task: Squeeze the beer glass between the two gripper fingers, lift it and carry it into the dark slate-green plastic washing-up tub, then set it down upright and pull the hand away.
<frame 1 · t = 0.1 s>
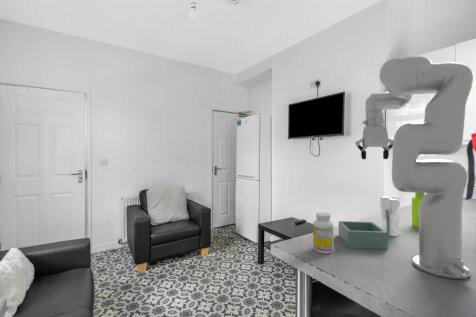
hand: (374, 159, 112), 31 cm above the table, tool pointing down, fingers open, 9 cm apart
washing-up tub: (361, 241, 89), on the table
supplement bottle: (323, 250, 82), on the table
beer glass: (389, 234, 98), on the table
soap dispenser: (420, 227, 107), on the table
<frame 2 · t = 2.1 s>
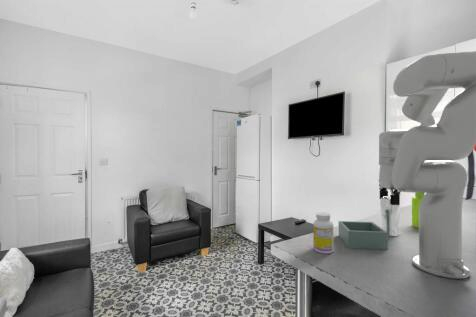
hand: (389, 202, 98), 13 cm above the table, tool pointing down, fingers open, 9 cm apart
nothing on the table moved.
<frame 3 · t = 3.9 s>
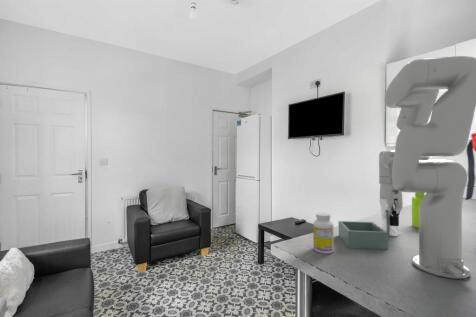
hand: (389, 222, 98), 5 cm above the table, tool pointing down, fingers closed on beer glass, 6 cm apart
beer glass: (389, 234, 98), on the table, touching gripper
everything else where it was.
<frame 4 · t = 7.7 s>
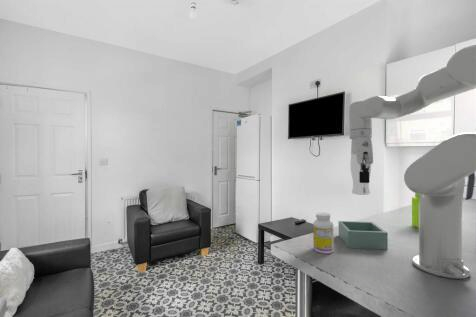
hand: (360, 181, 89), 23 cm above the table, tool pointing down, fingers closed on beer glass, 6 cm apart
beer glass: (360, 194, 89), point 18 cm above the table, touching gripper
everything else where it was.
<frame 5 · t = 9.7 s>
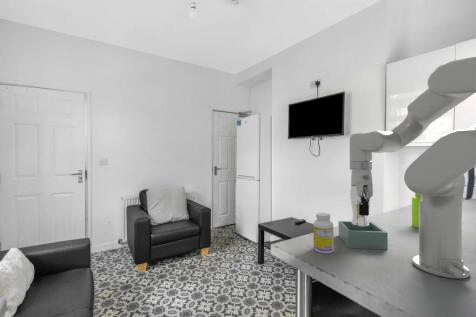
hand: (360, 212, 89), 11 cm above the table, tool pointing down, fingers closed on beer glass, 6 cm apart
beer glass: (360, 225, 90), point 6 cm above the table, touching gripper
everything else where it was.
when the fingers open (8 cm above the table, at t = 11.5 s): beer glass drops 2 cm, resting on washing-up tub.
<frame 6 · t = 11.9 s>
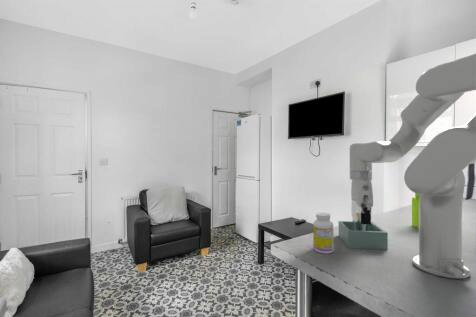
hand: (360, 220, 89), 8 cm above the table, tool pointing down, fingers open, 9 cm apart
beer glass: (361, 239, 90), point 1 cm above the table, touching washing-up tub
everything else where it was.
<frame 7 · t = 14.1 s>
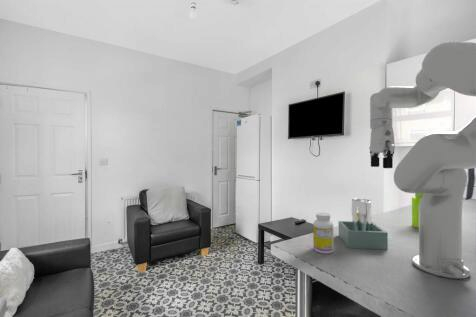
hand: (381, 167, 93), 28 cm above the table, tool pointing down, fingers open, 9 cm apart
nothing on the table moved.
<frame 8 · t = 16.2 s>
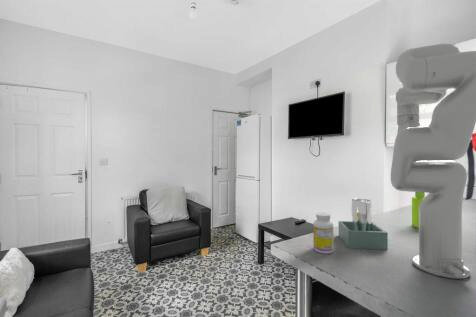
hand: (408, 161, 98), 30 cm above the table, tool pointing down, fingers open, 9 cm apart
nothing on the table moved.
at the end: beer glass inside the target area on the washing-up tub (0.2 cm from its centre), point 0.8 cm above the washing-up tub's base; beer glass tilted 0°; the gripper is holding nothing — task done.
